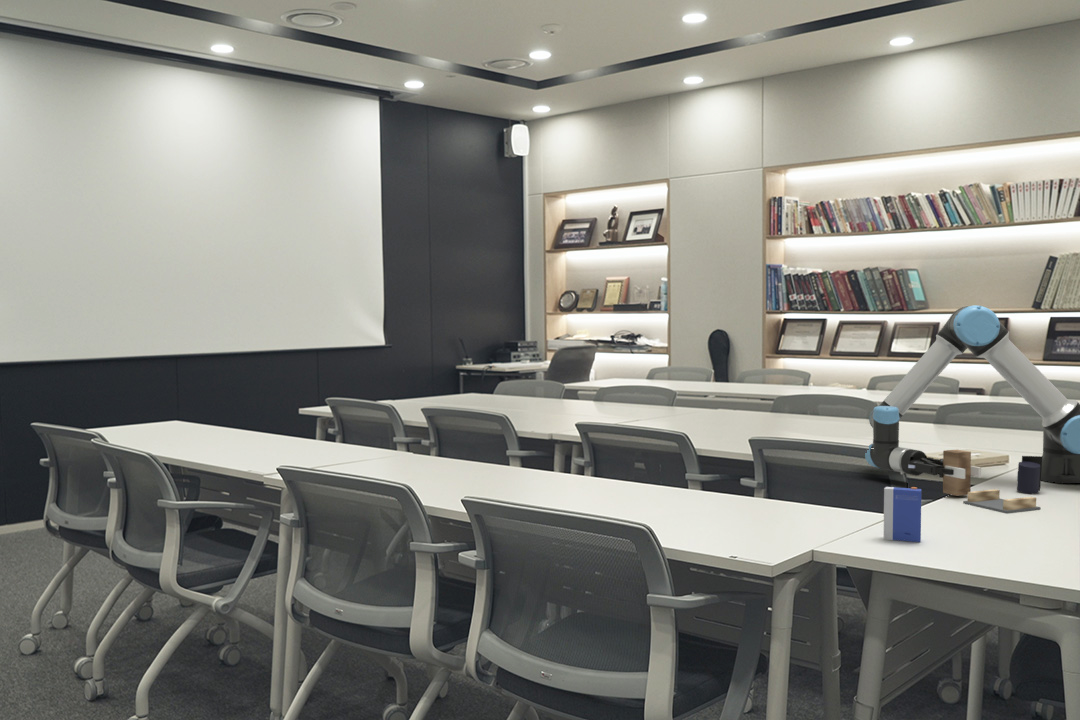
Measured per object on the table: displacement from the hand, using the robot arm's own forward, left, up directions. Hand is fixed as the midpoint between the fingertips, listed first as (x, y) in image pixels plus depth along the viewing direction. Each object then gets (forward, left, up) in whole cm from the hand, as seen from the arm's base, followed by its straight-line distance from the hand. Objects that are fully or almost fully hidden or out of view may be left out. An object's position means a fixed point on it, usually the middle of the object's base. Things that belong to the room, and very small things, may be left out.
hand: (971, 473), depth 254 cm
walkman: (+51, +28, -8) cm, 59 cm away
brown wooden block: (0, -5, -7) cm, 8 cm away
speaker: (-24, -1, -8) cm, 25 cm away
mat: (0, +10, -7) cm, 12 cm away
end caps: (0, +10, -7) cm, 12 cm away
